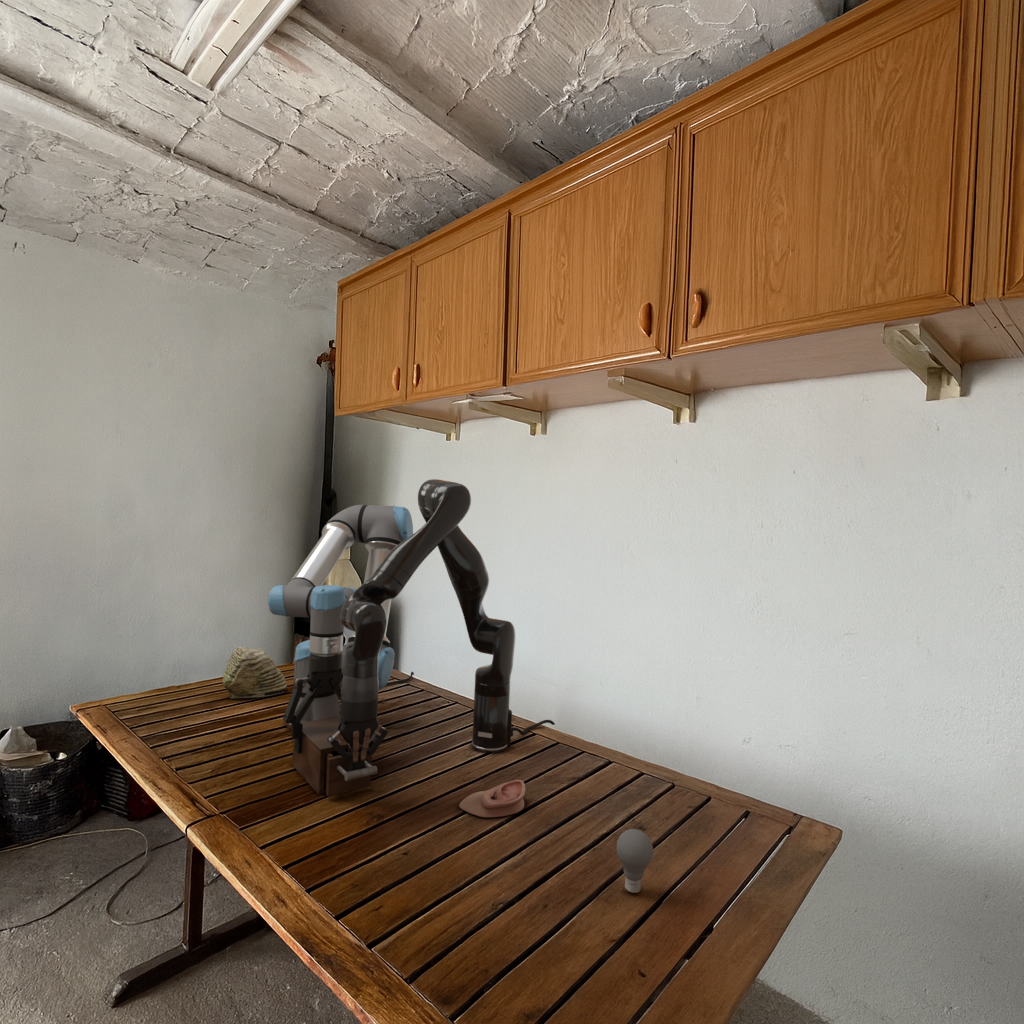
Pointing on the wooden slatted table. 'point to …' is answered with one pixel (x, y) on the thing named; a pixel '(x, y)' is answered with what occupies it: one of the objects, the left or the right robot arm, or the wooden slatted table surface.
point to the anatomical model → (496, 800)
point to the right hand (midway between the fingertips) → (356, 777)
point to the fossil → (252, 674)
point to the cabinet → (316, 750)
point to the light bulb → (634, 857)
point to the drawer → (345, 774)
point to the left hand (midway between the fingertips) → (322, 746)
